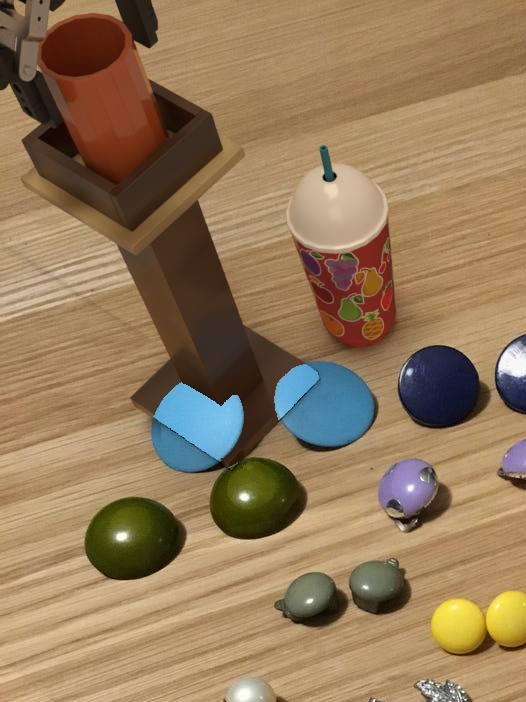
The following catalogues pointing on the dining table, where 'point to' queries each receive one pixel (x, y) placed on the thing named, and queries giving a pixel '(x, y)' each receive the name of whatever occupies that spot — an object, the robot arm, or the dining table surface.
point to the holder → (172, 259)
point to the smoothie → (345, 250)
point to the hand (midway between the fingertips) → (97, 80)
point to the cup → (102, 93)
